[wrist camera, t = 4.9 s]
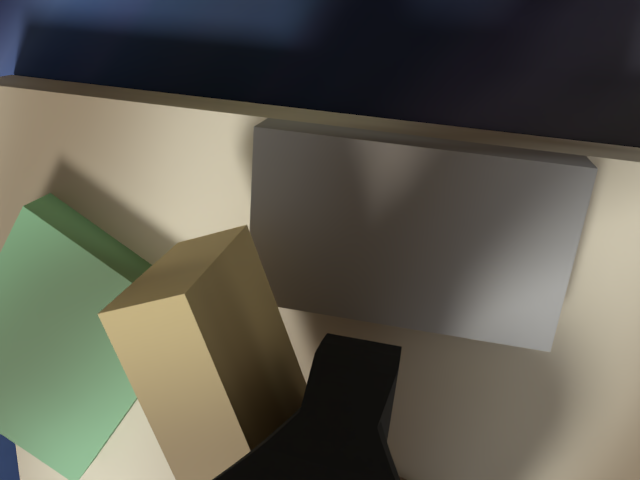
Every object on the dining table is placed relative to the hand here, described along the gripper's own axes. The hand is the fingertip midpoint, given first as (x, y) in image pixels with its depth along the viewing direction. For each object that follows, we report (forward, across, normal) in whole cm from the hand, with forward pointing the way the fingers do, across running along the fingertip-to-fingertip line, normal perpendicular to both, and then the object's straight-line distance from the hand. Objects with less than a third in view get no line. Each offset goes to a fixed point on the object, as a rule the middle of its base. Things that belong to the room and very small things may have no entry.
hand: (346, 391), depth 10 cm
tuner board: (+3, 0, +2) cm, 3 cm away
